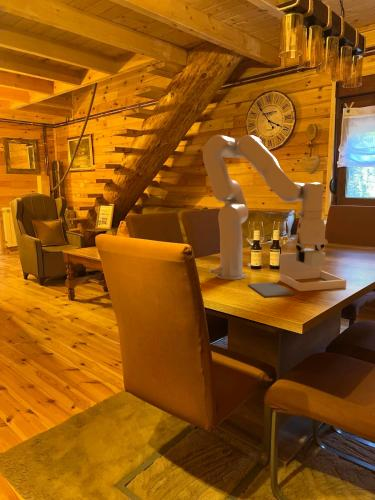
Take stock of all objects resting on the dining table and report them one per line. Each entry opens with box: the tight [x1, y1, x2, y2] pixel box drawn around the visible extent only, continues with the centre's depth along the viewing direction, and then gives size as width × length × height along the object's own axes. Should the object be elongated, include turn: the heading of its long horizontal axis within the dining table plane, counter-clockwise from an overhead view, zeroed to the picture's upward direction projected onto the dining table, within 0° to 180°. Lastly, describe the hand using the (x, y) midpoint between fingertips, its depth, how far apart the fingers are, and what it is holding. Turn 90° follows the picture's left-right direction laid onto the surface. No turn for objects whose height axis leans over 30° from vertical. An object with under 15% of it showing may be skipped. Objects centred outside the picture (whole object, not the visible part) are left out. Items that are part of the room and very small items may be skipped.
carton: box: [279, 252, 347, 292], centre depth 146 cm, size 19×18×11 cm
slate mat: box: [247, 281, 295, 298], centre depth 139 cm, size 11×17×1 cm, turn 11°
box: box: [296, 247, 327, 267], centre depth 145 cm, size 6×12×5 cm, turn 11°
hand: (308, 260), depth 147 cm, fingers closed on box, 5 cm apart
